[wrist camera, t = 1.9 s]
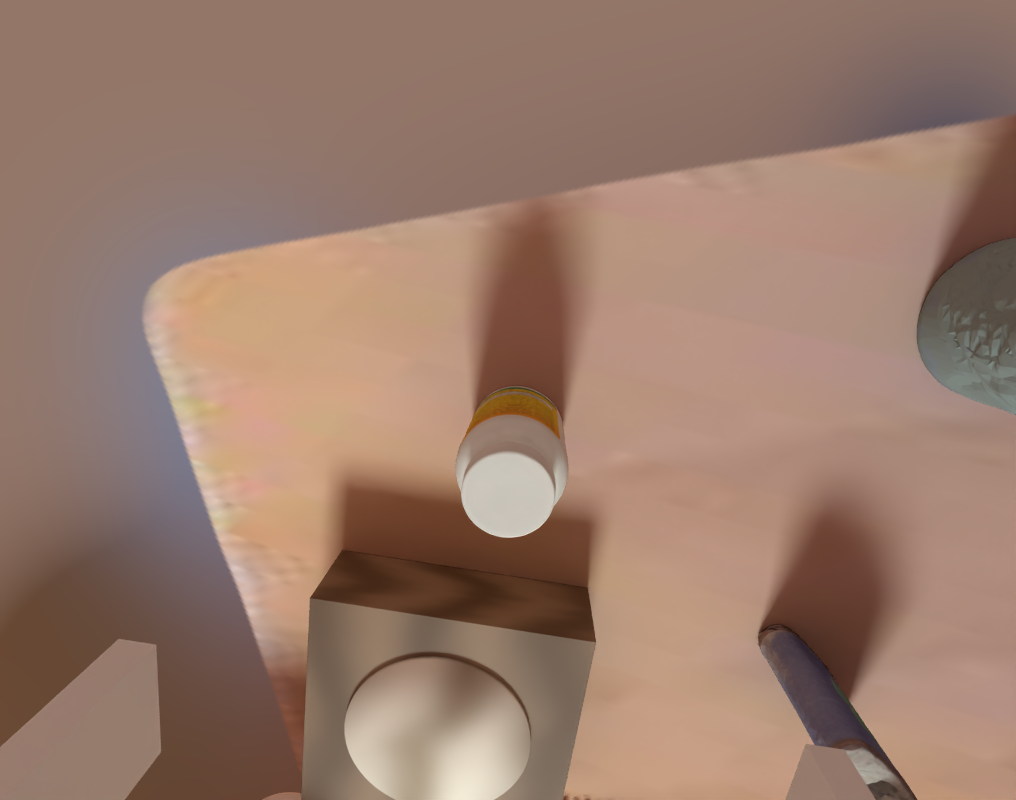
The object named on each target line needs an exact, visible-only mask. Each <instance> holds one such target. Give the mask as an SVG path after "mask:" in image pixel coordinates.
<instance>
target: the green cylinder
mask: <svg viewBox="0 0 1016 800" xmlns="http://www.w3.org/2000/svg"><path fill="white" fill-rule="evenodd" d="M917 343H918V349H919V352H920V355H921V358H922V361H923V362H924V364H925V366H926V368H927V369H928V370H929V372H930V373H931V374H932V375H933V376H934V377H935V378H936V379H937V380H938V381H939V382H940V383H941V384H942V385H943V386H945V387H947V388H948V389H950V390H951V391H954V392H956V393H958V394H960V395H963V396H965V397H967V398H970V399H972V400H975V401H978V402H980V403H983V404H986V405H989V406H993V407H996V408H1000V409H1002V410H1004V411H1007V412H1009V413H1012V414H1015V415H1016V238H1010V239H1004V240H1001V241H997V242H994V243H991V244H988V245H987V246H984V247H982V248H979V249H978V250H976V251H974V252H972V253H970V254H969V255H967V256H965V257H964V258H963V259H961V260H960V261H959V262H956V263H954V264H953V266H952V268H950V269H947V270H946V272H945V273H944V274H943V275H942V276H940V278H939V279H938V280H937V282H936V283H935V284H934V285H933V287H932V288H931V290H930V292H929V294H928V295H927V297H926V300H925V302H924V304H923V307H922V309H921V312H920V315H919V320H918V325H917Z"/></svg>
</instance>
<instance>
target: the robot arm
mask: <svg viewBox="0 0 1016 800" xmlns="http://www.w3.org/2000/svg"><path fill="white" fill-rule="evenodd" d="M160 752H161V741H160V721H159V698H158V676H157V655H156V645H155V644H148V643H141V642H135V641H128V640H122V639H118V640H117V641H116V642H115V643H114V644H113V645H112V646H111V647H110V648H108V649H107V650H106V651H105V652H104V653H103V654H102V655H101V656H100V657H99V658H98V659H96V660H95V661H94V662H93V663H92V664H91V665H90V666H89V667H88V668H86V669H85V670H84V671H83V672H82V673H81V674H80V675H79V676H78V677H77V678H76V679H74V680H73V681H72V682H71V683H70V684H69V685H68V686H67V687H66V688H65V689H63V690H62V691H61V692H60V693H59V694H58V695H57V696H56V697H55V698H54V699H53V700H51V702H49V703H48V704H47V705H46V706H45V707H44V708H43V709H42V710H40V711H39V712H38V713H37V714H36V715H35V716H34V717H33V718H32V719H31V720H30V721H28V722H27V723H26V724H25V725H24V726H23V727H22V728H21V729H20V730H19V731H17V732H16V733H15V734H14V735H13V736H12V737H11V738H10V739H9V740H8V741H7V742H5V743H4V744H3V745H2V746H1V747H0V800H125V798H126V797H127V796H128V794H129V793H130V792H131V790H132V789H133V788H134V787H135V785H136V784H137V782H138V781H139V780H140V779H141V777H142V776H143V775H144V773H145V772H146V771H147V769H148V768H149V767H150V766H151V764H152V763H153V761H154V760H155V759H156V757H157V756H158V755H159V754H160ZM786 800H876V799H875V798H874V796H873V794H872V793H871V791H870V790H869V788H868V786H867V785H866V783H865V782H864V780H863V779H862V777H861V775H860V774H859V772H858V771H857V769H856V767H855V766H854V764H853V763H852V761H851V759H850V758H849V756H848V755H847V753H846V752H845V750H843V749H836V748H830V747H823V746H817V745H810V744H806V745H805V748H804V750H803V753H802V756H801V759H800V761H799V764H798V767H797V770H796V772H795V775H794V778H793V781H792V783H791V786H790V789H789V792H788V795H787V797H786Z"/></svg>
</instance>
